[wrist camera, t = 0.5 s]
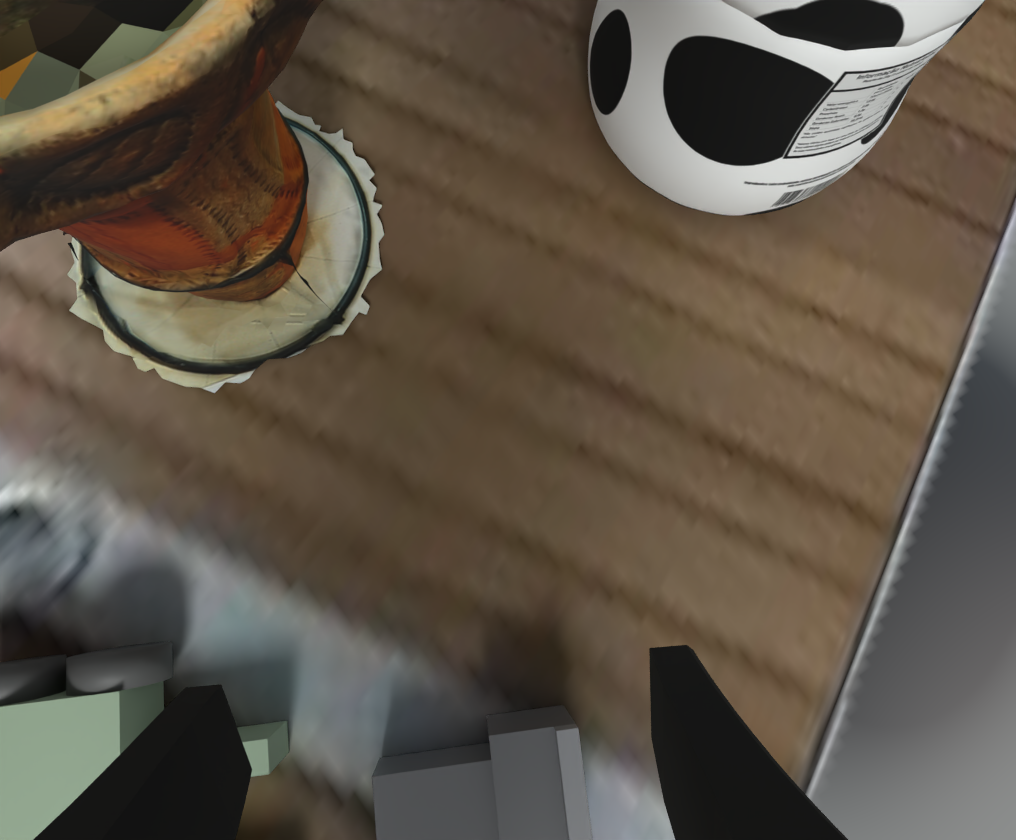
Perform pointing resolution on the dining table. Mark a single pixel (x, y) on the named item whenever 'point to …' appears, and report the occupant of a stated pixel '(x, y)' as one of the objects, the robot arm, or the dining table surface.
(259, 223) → the decorative vase
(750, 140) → the milk container
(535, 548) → the dining table surface
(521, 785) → the grey stepped block
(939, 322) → the dining table surface
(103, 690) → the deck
